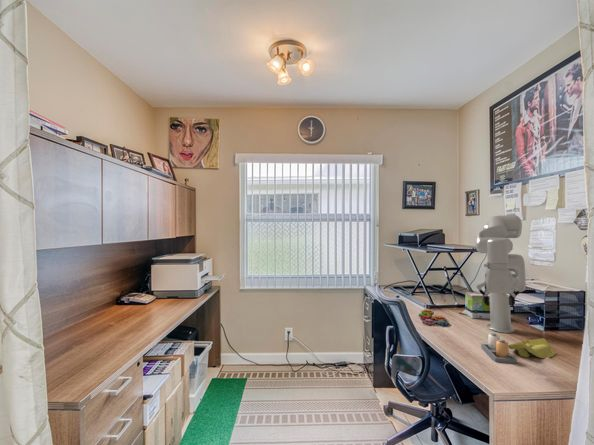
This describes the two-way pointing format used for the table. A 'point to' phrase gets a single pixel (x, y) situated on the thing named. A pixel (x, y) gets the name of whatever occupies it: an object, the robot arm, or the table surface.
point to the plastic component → (533, 348)
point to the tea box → (476, 306)
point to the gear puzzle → (433, 319)
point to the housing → (493, 356)
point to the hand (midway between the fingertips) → (499, 305)
